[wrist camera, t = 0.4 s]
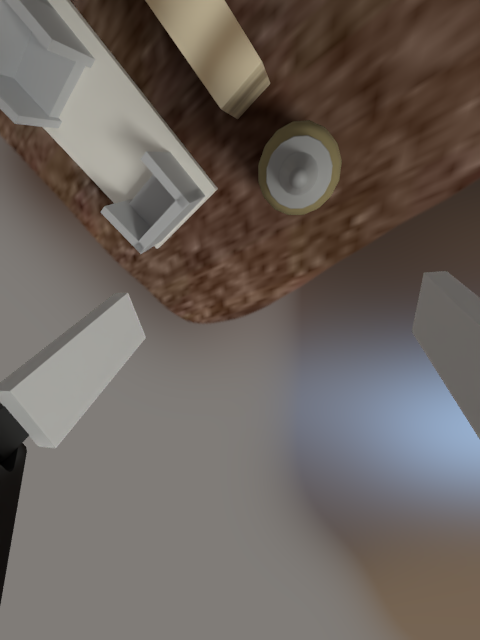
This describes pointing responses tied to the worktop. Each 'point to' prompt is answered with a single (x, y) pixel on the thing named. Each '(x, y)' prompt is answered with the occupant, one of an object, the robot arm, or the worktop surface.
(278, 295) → the worktop surface
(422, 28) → the worktop surface
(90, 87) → the bracket board
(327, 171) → the squeeze bottle
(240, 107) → the rail
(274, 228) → the worktop surface
